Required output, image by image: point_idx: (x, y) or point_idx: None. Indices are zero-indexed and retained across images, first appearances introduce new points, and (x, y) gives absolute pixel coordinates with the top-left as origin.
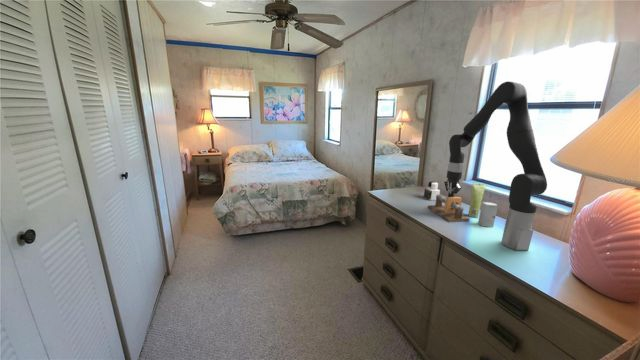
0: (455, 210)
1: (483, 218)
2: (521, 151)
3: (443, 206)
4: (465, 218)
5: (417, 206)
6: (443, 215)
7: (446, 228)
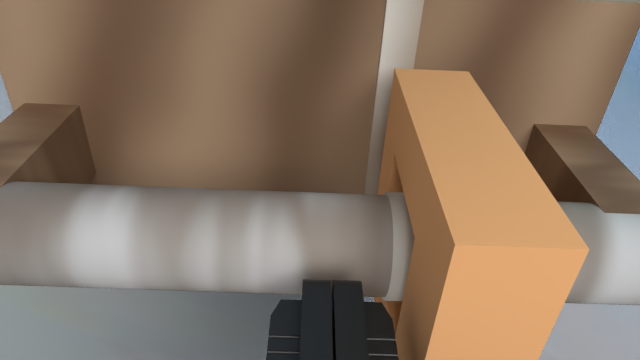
0: None
1: None
2: None
3: (67, 68)
4: (608, 60)
5: (52, 309)
6: None
7: (633, 337)
